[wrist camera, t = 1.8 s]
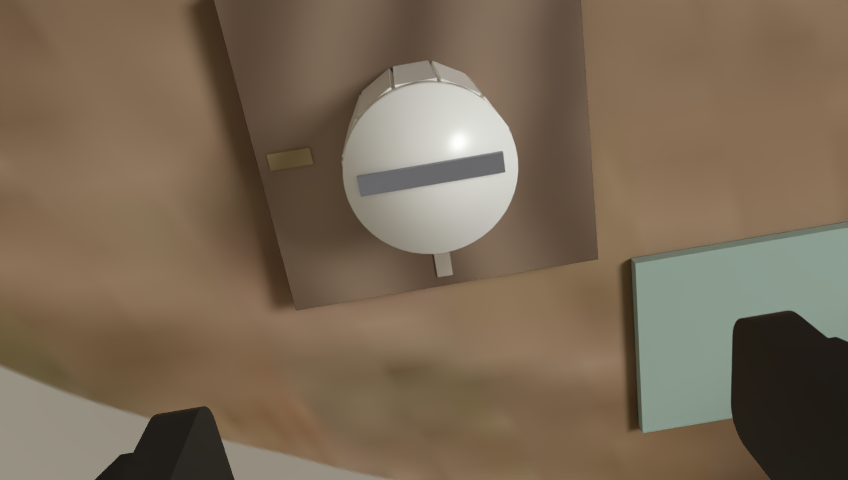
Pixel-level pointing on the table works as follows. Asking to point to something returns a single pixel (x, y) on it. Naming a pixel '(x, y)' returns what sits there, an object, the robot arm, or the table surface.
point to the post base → (334, 106)
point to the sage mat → (725, 313)
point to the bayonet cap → (428, 159)
